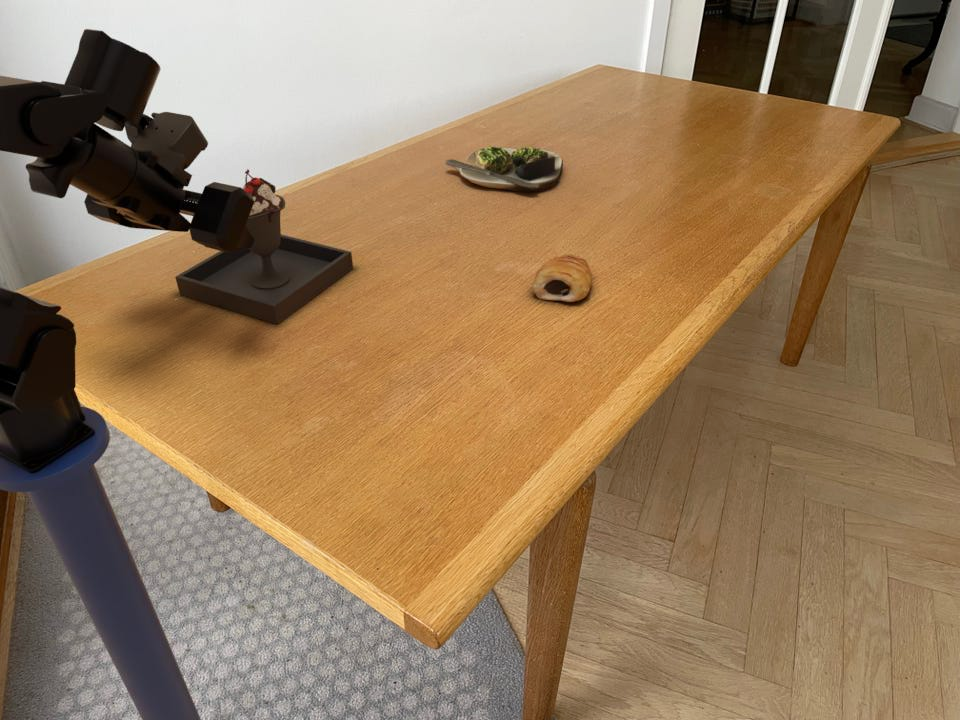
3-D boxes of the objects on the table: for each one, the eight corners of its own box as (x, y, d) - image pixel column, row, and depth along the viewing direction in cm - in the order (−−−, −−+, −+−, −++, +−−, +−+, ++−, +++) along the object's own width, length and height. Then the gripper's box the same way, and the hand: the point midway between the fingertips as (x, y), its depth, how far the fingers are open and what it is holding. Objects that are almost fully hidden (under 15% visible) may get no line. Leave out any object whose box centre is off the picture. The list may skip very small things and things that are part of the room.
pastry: (548, 264, 95) (550, 238, 93) (599, 273, 94) (602, 246, 91) (529, 299, 88) (531, 271, 86) (583, 309, 86) (586, 280, 84)
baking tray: (277, 324, 83) (273, 306, 82) (179, 294, 89) (174, 276, 87) (353, 268, 94) (351, 251, 93) (262, 245, 100) (259, 228, 99)
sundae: (259, 298, 87) (235, 179, 78) (233, 278, 91) (208, 162, 83) (307, 280, 91) (289, 164, 82) (280, 262, 95) (261, 149, 86)
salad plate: (433, 189, 116) (432, 161, 114) (459, 152, 131) (458, 126, 128) (552, 200, 113) (554, 171, 110) (566, 160, 127) (568, 134, 125)
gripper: (221, 105, 64) (312, 183, 79) (73, 81, 71) (182, 157, 85) (176, 221, 63) (277, 278, 77) (30, 185, 70) (148, 244, 84)
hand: (219, 235), depth 81 cm, fingers open, 9 cm apart
